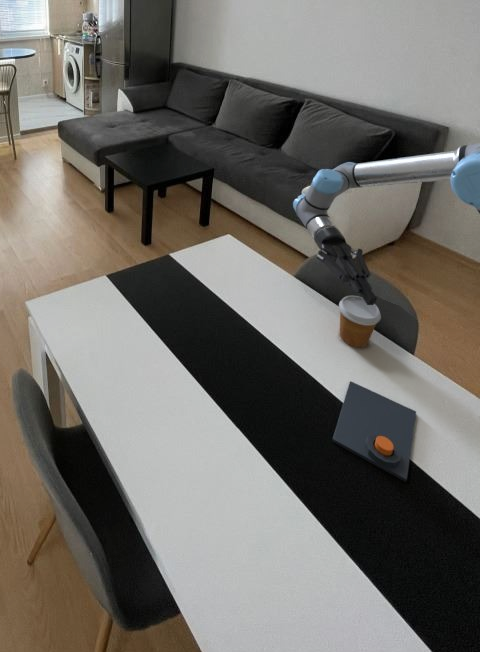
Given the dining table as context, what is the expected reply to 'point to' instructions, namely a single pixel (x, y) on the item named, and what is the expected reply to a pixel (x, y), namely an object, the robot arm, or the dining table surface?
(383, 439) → the button
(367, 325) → the disposable coffee cup
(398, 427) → the scale
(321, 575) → the dining table surface
